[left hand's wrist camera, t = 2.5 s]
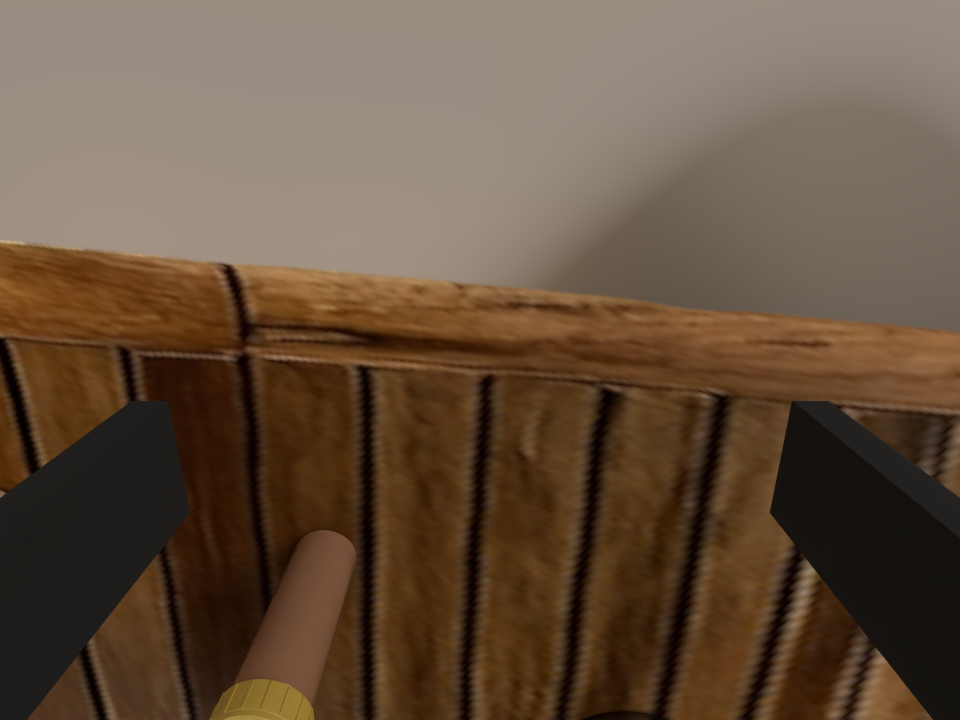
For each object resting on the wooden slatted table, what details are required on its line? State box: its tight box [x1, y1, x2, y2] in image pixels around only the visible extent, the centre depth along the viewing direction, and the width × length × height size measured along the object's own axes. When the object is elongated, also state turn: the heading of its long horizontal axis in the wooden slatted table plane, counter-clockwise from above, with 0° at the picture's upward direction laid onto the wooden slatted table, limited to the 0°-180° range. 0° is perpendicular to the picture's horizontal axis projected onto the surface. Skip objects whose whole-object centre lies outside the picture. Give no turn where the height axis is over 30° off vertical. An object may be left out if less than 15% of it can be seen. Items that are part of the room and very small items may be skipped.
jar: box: [232, 530, 357, 708], centre depth 40 cm, size 5×5×16 cm
